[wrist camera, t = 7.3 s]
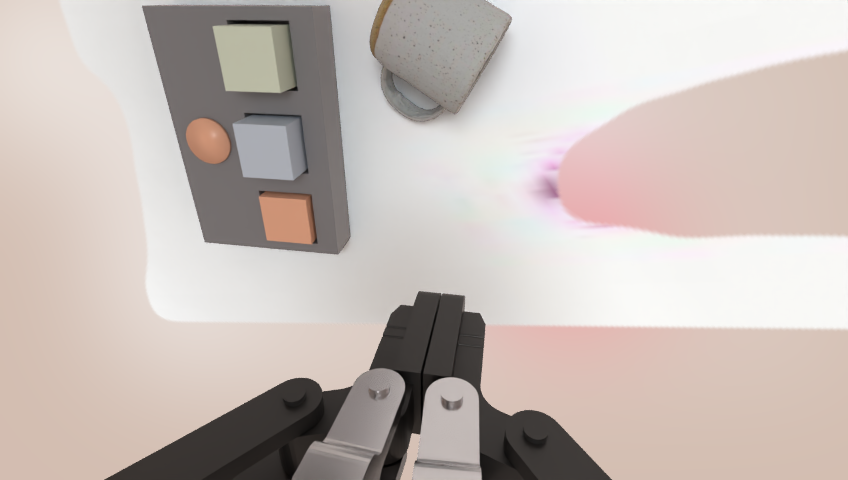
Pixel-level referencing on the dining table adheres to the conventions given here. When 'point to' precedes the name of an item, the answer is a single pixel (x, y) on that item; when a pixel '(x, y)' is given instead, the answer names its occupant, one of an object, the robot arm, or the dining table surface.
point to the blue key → (271, 146)
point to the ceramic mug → (435, 49)
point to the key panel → (218, 109)
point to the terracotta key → (288, 217)
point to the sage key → (256, 57)
